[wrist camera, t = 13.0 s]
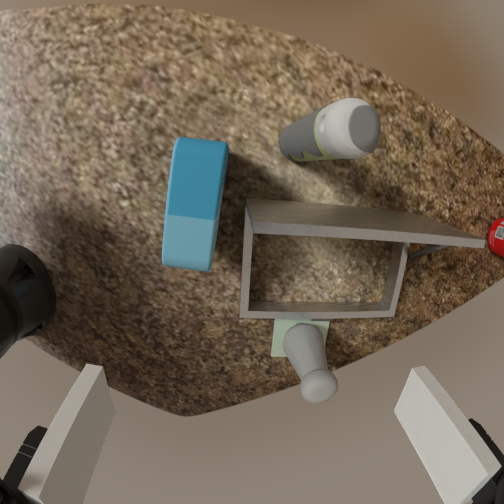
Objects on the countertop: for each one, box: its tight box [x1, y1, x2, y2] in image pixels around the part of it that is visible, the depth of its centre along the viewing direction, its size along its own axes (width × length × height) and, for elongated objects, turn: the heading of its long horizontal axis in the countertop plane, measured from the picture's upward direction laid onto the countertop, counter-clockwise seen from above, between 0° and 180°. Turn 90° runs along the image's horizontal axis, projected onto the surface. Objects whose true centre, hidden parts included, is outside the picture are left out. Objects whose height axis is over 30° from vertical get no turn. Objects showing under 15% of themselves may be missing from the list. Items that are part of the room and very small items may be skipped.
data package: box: [162, 137, 229, 272], centre depth 31 cm, size 12×4×12 cm, turn 171°
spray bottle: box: [279, 98, 381, 162], centre depth 26 cm, size 5×5×20 cm
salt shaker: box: [283, 322, 338, 404], centre depth 37 cm, size 6×6×13 cm
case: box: [239, 199, 485, 321], centre depth 32 cm, size 23×16×17 cm
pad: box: [271, 319, 330, 357], centre depth 43 cm, size 8×8×1 cm
